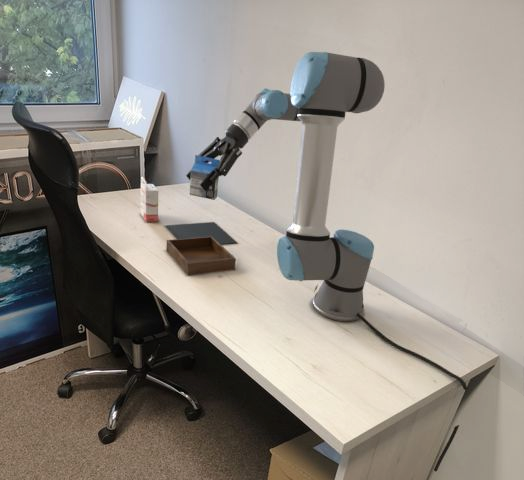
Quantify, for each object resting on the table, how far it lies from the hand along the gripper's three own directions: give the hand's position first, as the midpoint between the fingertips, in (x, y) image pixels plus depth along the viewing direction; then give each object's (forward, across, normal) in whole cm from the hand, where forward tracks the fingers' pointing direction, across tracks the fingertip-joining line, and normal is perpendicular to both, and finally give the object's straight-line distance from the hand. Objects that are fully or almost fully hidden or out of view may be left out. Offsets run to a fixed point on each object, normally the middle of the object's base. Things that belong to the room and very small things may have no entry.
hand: (195, 183), depth 159 cm
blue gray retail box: (+1, 0, -6) cm, 6 cm away
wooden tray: (+18, -14, -12) cm, 25 cm away
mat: (+10, +6, -19) cm, 22 cm away
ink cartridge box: (+18, +26, -11) cm, 34 cm away
